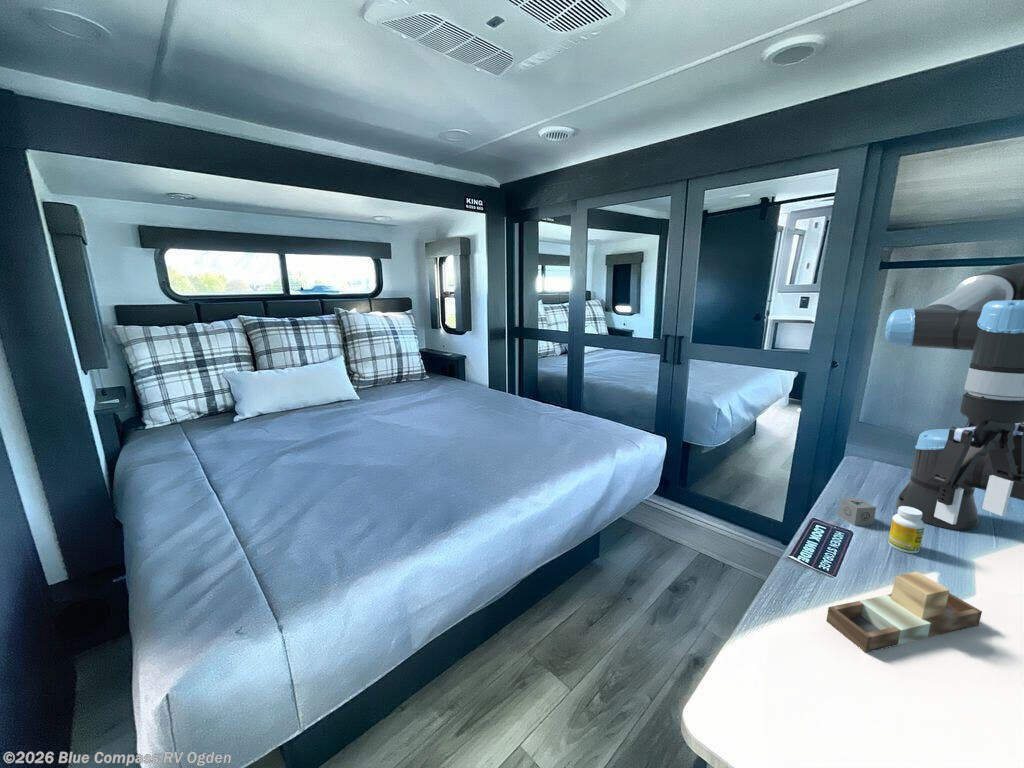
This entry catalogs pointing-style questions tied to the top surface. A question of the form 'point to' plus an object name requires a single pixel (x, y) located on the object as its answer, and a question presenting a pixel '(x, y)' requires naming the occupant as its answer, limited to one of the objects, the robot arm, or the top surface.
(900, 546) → the supplement bottle
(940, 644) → the top surface
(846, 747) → the top surface
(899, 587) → the oak block
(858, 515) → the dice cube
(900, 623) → the board
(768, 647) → the top surface
